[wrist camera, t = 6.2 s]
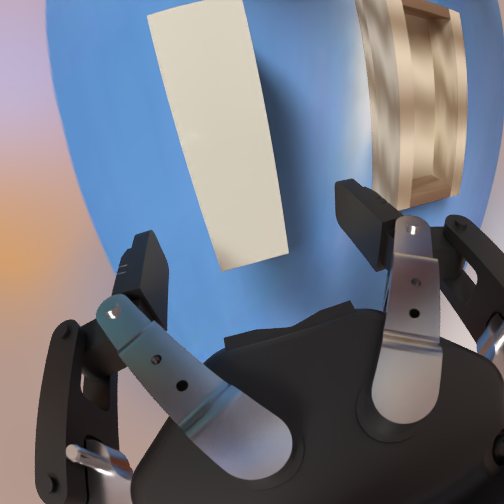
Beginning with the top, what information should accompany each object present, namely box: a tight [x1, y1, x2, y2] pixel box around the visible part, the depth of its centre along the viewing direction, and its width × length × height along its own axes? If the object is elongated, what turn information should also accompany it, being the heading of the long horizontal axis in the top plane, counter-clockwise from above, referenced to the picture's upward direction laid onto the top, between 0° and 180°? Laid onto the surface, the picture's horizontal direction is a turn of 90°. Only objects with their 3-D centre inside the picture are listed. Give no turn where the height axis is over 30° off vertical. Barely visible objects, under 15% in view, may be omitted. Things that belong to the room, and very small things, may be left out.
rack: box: [355, 0, 467, 211], centre depth 17 cm, size 18×9×4 cm, turn 11°
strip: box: [147, 0, 289, 271], centre depth 15 cm, size 14×4×8 cm, turn 11°
